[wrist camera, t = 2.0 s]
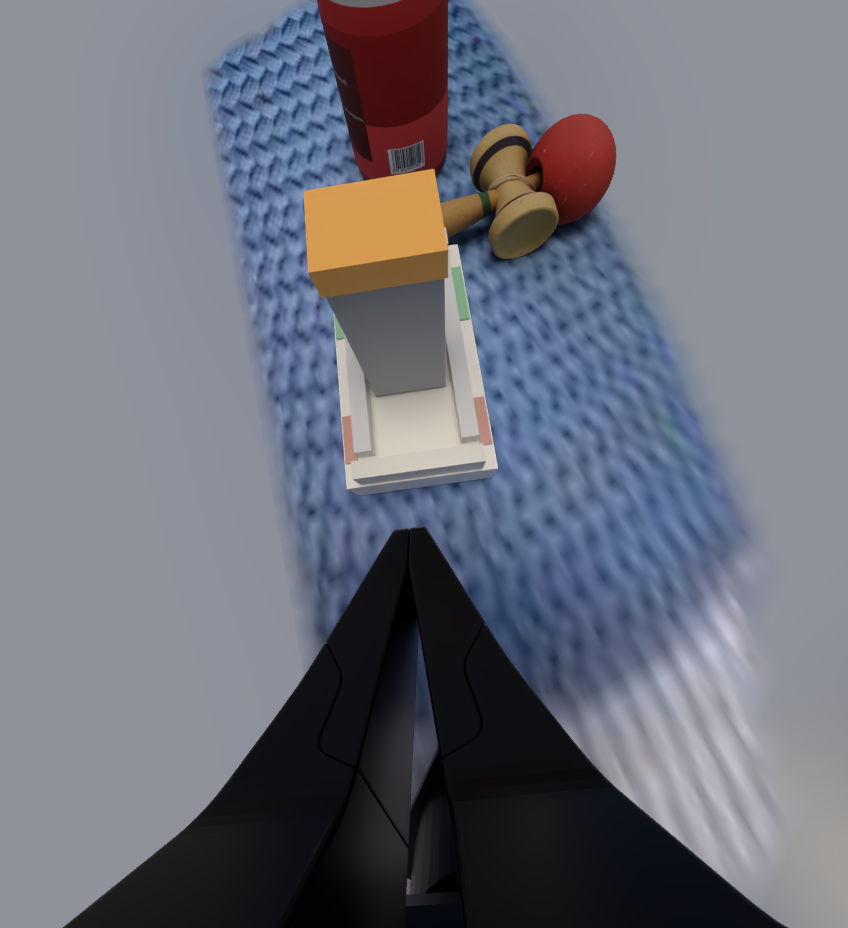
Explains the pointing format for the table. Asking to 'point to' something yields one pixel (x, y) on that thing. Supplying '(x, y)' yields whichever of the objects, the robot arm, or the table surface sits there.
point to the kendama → (534, 182)
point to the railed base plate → (419, 413)
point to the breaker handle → (384, 274)
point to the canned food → (391, 80)
